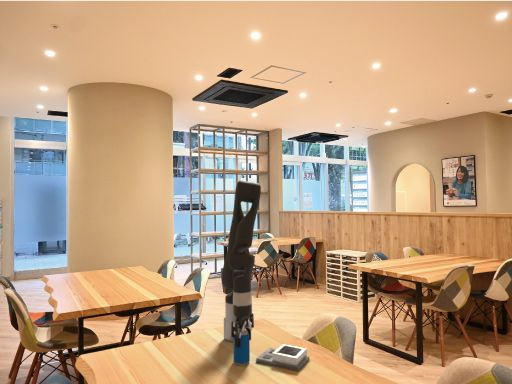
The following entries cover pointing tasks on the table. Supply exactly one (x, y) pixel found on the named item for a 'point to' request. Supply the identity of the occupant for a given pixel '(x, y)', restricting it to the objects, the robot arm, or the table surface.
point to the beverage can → (242, 349)
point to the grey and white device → (285, 357)
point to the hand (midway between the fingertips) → (243, 343)
